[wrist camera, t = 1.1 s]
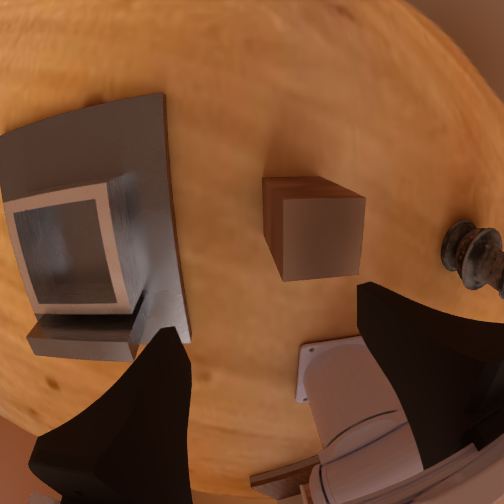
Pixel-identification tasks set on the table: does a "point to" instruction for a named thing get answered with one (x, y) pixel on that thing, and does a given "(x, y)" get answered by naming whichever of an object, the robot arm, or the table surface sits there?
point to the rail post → (312, 227)
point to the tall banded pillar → (287, 482)
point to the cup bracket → (95, 228)
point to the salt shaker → (474, 255)
